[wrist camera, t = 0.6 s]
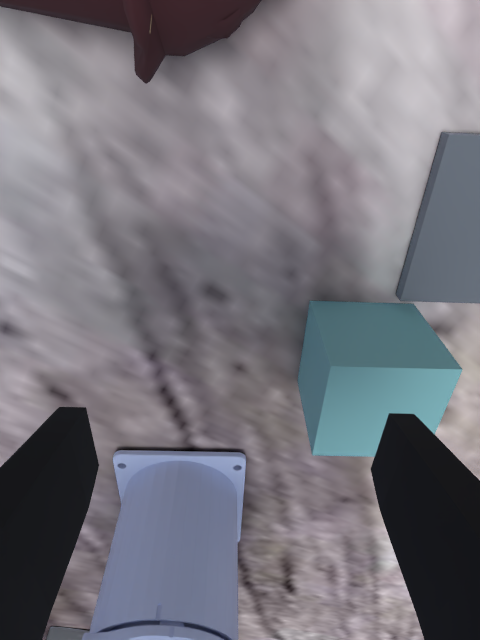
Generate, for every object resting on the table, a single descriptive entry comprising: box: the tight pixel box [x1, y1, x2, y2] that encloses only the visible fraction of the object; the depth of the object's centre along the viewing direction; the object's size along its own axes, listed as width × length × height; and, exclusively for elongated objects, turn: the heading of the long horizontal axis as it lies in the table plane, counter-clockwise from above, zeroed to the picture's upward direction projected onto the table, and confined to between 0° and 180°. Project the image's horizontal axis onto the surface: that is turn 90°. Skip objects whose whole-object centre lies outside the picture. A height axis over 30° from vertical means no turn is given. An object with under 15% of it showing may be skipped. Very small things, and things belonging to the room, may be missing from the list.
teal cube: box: [298, 301, 462, 456], centre depth 19 cm, size 5×5×5 cm
